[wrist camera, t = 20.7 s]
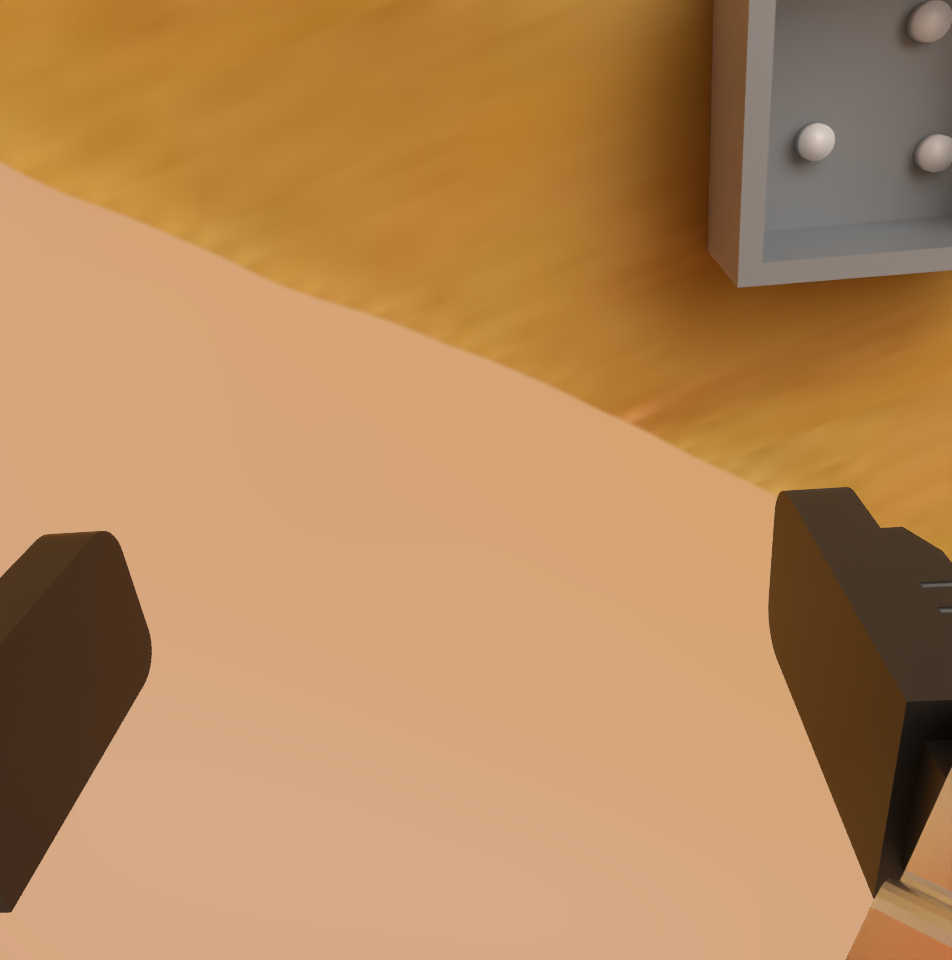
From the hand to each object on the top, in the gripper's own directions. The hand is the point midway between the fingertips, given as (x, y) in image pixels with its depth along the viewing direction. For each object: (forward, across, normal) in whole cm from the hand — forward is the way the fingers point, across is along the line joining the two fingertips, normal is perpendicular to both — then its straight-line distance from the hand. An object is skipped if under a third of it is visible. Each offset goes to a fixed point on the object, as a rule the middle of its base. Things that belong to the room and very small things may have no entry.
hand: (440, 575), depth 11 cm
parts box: (+36, -17, -2) cm, 40 cm away
